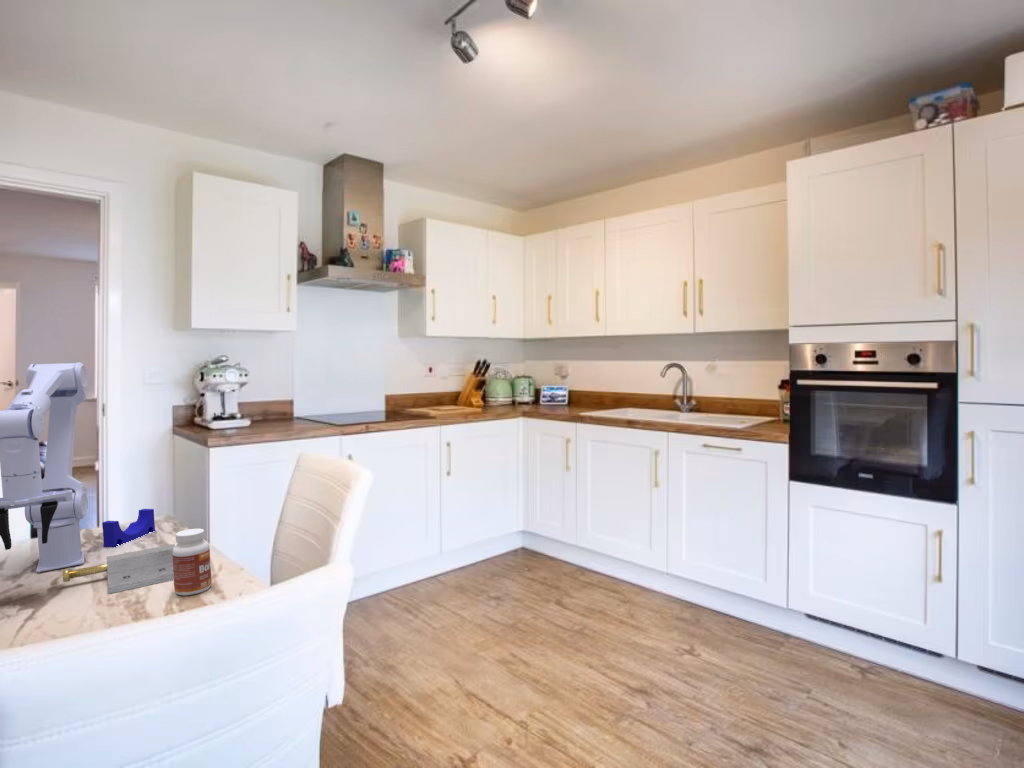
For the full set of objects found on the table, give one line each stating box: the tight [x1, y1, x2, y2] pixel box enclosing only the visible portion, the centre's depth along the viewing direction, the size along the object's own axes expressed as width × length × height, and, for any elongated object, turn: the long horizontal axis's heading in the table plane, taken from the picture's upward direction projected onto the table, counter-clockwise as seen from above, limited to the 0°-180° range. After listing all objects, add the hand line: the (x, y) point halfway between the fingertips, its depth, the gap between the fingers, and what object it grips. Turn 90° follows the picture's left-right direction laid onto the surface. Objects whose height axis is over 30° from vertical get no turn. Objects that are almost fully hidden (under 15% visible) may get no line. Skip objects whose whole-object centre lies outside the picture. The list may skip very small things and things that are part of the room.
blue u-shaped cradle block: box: [101, 508, 156, 548], centre depth 143 cm, size 12×4×6 cm, turn 169°
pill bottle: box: [172, 528, 212, 596], centre depth 110 cm, size 6×6×11 cm
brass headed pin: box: [62, 563, 107, 583], centre depth 117 cm, size 13×2×2 cm, turn 125°
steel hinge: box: [105, 543, 176, 594], centre depth 121 cm, size 12×20×4 cm, turn 35°
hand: (26, 545), depth 110 cm, fingers open, 5 cm apart
